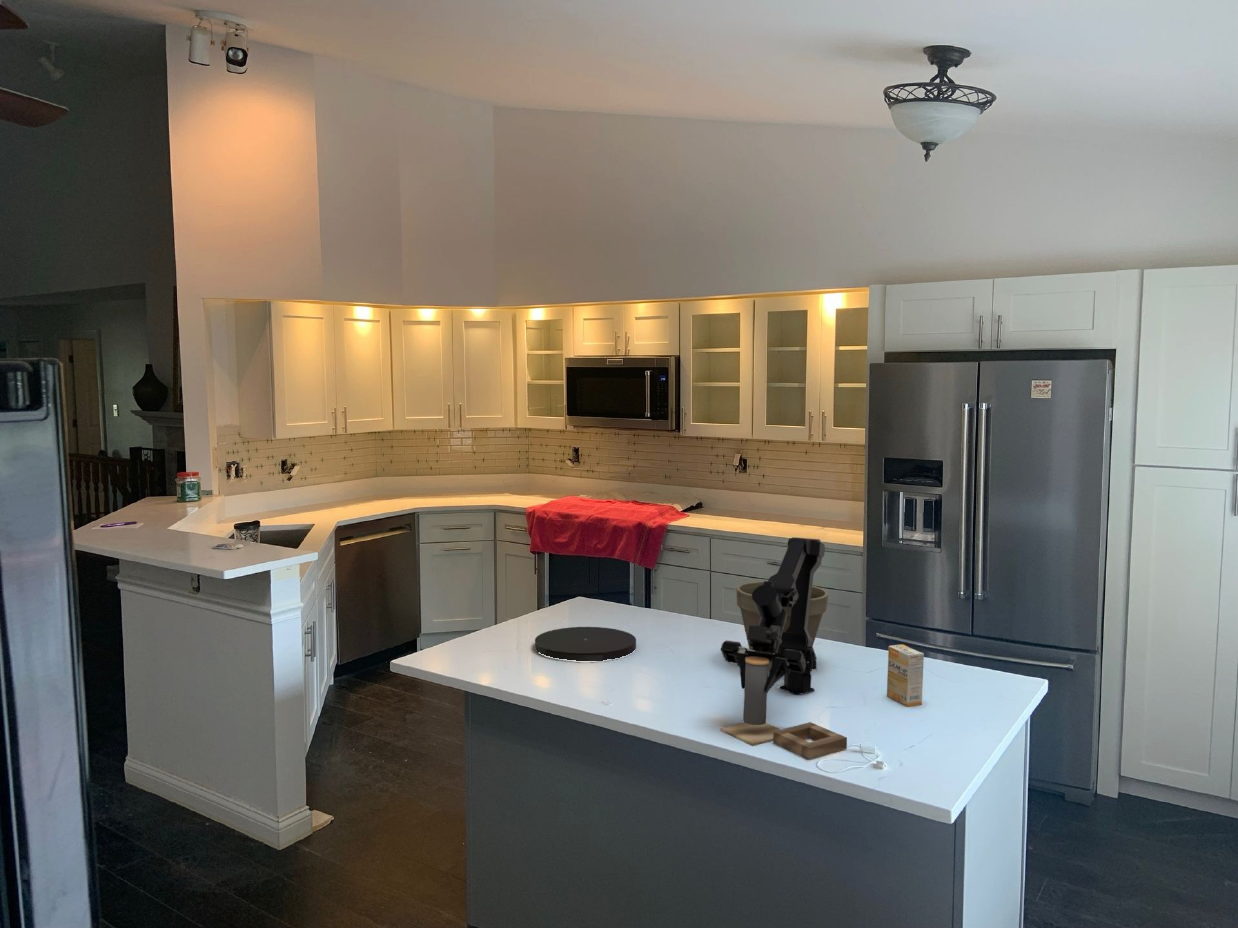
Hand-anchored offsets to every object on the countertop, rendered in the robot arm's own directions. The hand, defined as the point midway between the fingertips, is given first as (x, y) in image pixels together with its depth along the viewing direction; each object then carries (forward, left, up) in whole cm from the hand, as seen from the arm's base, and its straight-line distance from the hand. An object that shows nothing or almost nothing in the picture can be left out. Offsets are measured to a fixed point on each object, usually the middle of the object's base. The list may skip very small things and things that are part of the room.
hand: (754, 689), depth 206 cm
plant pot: (-36, +41, -10) cm, 55 cm away
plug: (-1, +1, -7) cm, 8 cm away
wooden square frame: (+11, +6, -10) cm, 16 cm away
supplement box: (+2, +47, -10) cm, 48 cm away
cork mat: (-1, +1, -10) cm, 10 cm away
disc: (-80, +4, -11) cm, 80 cm away
